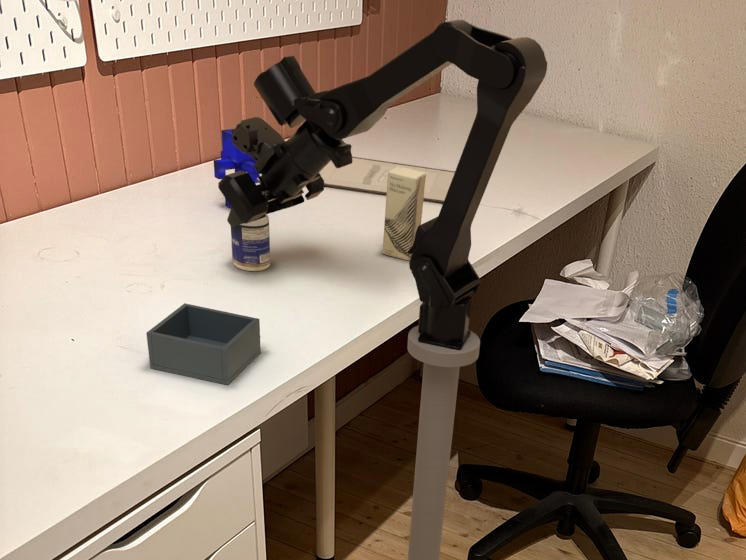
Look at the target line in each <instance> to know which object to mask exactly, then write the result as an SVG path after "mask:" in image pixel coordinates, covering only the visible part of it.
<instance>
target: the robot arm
mask: <svg viewBox="0 0 746 560" xmlns="http://www.w3.org/2000/svg"><path fill="white" fill-rule="evenodd" d="M451 65H454V66H455V67H457V68H458V69H459V70H461V71H462V72H463V73H464V74H466V75H467V76H469V77H471V78H473V79H476V80H477V84H476V86H477V87H476V114H475V118H474V120H473V123H472V125H471V128H470V130H469V133H468V135H467V138H466V141H465V143H464V147H463V150H462V152H461V155H460V157H459V160H458V163H457V164H456V168H455V173H454V176H453V178H452V181H451V184H450V186H449V189H448V192H447V194H446V197H445V200H444V202H442V205H441V207H440V211H439V212H438V216H435V217H434V218H432V219H430V220H428V221H426V222H423V223H421V225H419V226H418V228H417V230H416V234H415V239H414V243H413V245H412V247H411V248H410V249H409V250H408V254H412V255H411V257H410V260H409V263H408V266H409V267H408V268H409V270H410V272H411V274H412V277H413V278H414V281H415V285H416V290H417V294H418V298H419V301H420V302H421V303H420V305H419V311H418V312H419V313H418V325H417V326H418V332H419V333H420V336H419V337H418V342H420V343H425V344H430V345H435V346H440V347H444V348H449V349H454V350H462V348H463V346H464V345H465V343H466V341H467V340H468V338H469V337H470V334H471V332H470V331H471V330H470V331H468V330H469V329H470V319H471V310H472V301H473V297H472V296H471V295H473V294H476V293H477V291H478V290H479V288H480V285H481V282H482V280H481V278H480V276H479V274H478V273H477V271H476V270H475V268H474V267H473V265H472V264H471V262H470V260H469V257H470V253H471V247H472V225H473V222H474V219H475V217H476V214H477V212H478V209H479V207H480V204H481V202H482V199H483V198H484V197H483V196H484V194H485V192H486V189H487V187H488V185H489V182H490V180H491V177H492V174H493V172H494V169H495V167H496V165H497V163H498V160H499V157H500V155H501V152H502V149H503V148H504V145H505V143H506V140H507V138H508V135H509V133H510V131H511V128H512V126H513V124H514V123H515V122H516V120H517V118H518V117H519V116H520V115H521V114H522V112H523V111H524V110H525V109H526V107H527V106H528V105H529V104H530V102H531V101H532V100H533V98H534V96H535V94H536V93H537V92H538V90H539V88H540V87H541V85H542V83H543V81H544V79H545V78H546V75H547V70H548V61H547V58H546V55H545V52H544V50H543V47H542V46H541V44H539V42H537V41H536V40H535V39H534V38H530V37H528V36H524V37H522V36H521V37H517V38H512V37H510V36H508V35H505V34H502V33H499V32H495V31H491V30H488V29H485V28H482V27H481V28H480V27H479V26H476V25H474V24H472V23H470V22H468V21H466V20H464V19H453V20H448V21H444V22H441V23H440V24H438V25H437V26H436V27H435V29H434V30H433V31H432V32H431V33H428V34H427V35H426V36H424V37H422V39H420V40H419V41H417V42H416V43H414V44H413V45H411V46H410V47H408V48H407V49H405V50H404V51H403V52H400V54H399V55H397V56H395V57H393V58H392V59H391V60H390V61H388V62H386V63H385V64H384V65H382V66H381V67H380V68H378V69H376V70H375V71H374V72H372V73H371V74H369V75H368V76H367V75H366V76H365V77H362V78H359V79H356V80H354V81H351V82H348V83H345V84H342V85H340V86H338V87H335V88H332V89H329V90H322V91H318V92H316V91H315V89H314V88H313V86H312V85H311V83H310V82H309V79H307V77H306V75H305V74H304V72H303V70H302V68H301V65H300V64H299V62H298V59H296V57H295V55H288V56H283V57H282V58H281V60H280V61H279V62H276V63H275V64H273V65H271V66H270V67H269V68H267V69H266V70H265V71H261V72H260V73H259V74H258V76H257V77H256V78H255V79H254V82H253V86H254V88H255V90H256V91H257V93H258V94H259V96H260V97H261V99H262V100H263V102H264V104H265V105H266V106H267V108H268V109H269V111H270V113H271V114H272V116H273V117H274V119H275V120H276V122H277V123H278V125H280V127H283V126H284V125H288V127H289V128H290V129H293V128H295V127H297V126H299V125H300V126H299V127H298V128H297V129H296V130H295V131H294V132H293V133H292V134H291V136H290V137H289V138H288V139H287V140H285V139H284V138H283V136H282V134H281V133H279V132H278V131H277V130H276V129H275V128H273V127H272V126H271V125H270V124H269V123H268V122H267V121H266V120H264V119H263V118H261V117H258V116H254V117H253V116H252V117H249V118H246V119H242V120H241V121H240V123H237V124H236V127H234V128H232V129H233V130H232V135H233V136H232V142H233V145H235V146H236V147H237V148H238V149H239V150H240V151H241V152H243V153H244V154H246V153H248V154H249V155H250V156H251V157H252V158H253V159H255V160H257V161H256V162H255V163H254V165H253V166H254V167H255V169H256V170H257V172H258V173H261V174H260V176H259V177H257V181H258V182H259V183H258V184H257V183H255V182H254V181H253V179H252V178H251V176H250V175H249V173H247V172H244V171H238V172H235V171H234V172H231V173H229V174H226V175H225V176H224V178H223V179H220V180H219V182H218V184H217V186H218V190H219V191H220V193H221V194H222V196H223V197H224V199H225V198H226V200H227V201H228V203H229V204H230V206H231V207H232V208H231V209H230V210H229V214H228V216H227V219H226V221H227V223H228V225H229V227H231V226H236V225H240V224H244V223H245V224H247V223H249V222H252V221H256V220H259V219H262V218H264V217H266V215H265V213H266V214H267V215H270V214H273V213H275V212H279V211H282V210H286V209H290V208H293V207H295V206H298V205H301V204H303V203H305V200H306V201H310V200H312V199H315V198H317V197H318V196H319V195H320V194H321V193H322V192H323V191H325V185H324V180H323V178H322V177H321V175H320V173H319V172H320V171H321V170H322V169H323V168H324V167H325V166H326V165H327V164H328V163H329V162H330V161H332V162H333V164H334V165H335V167H336V168H341V167H344V166H347V165H349V164H352V157H353V154H352V145H351V143H347V142H345V141H344V139H347V138H351V137H353V136H356V135H360V134H363V133H366V132H368V131H370V130H372V128H373V127H374V126H375V125H377V123H378V122H379V121H380V120H381V119H382V118H383V117H384V116H385V115H386V113H387V111H388V109H389V108H390V107H391V106H392V105H393V104H394V102H396V101H397V100H399V99H400V98H402V97H403V96H405V95H406V94H408V93H409V92H411V91H412V90H414V89H415V88H417V87H418V86H420V85H421V84H423V83H425V82H426V81H428V80H429V79H431V78H432V77H434V76H435V75H437V74H439V73H440V72H441V71H443V70H445V69H446V68H447V67H449V66H451ZM304 188H306V190H307V192H306V193H305V191H304V190H303V189H304ZM304 193H305V194H304ZM303 194H304V196H303Z"/></svg>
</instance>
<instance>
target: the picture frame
mask: <svg viewBox="0 0 746 560" xmlns="http://www.w3.org/2000/svg"><path fill="white" fill-rule="evenodd" d="M397 166H400V167H404V168H409V169H413V170H417V171H421V172H425V173H426V179H425V188H424V199H423V201H424V200H426V201H432V202H439V203H443V202H444V200H445V197H446V194H447V192H448V189H449V186H450V184H451V181H452V178H453V176H454V173H455V171H453V170H447V169H440V168H433V167H425V166H419V165H412V164H405V163H399V162H392V161H384V160H378V159H371V158H365V157H357V156H352V164H349V165H347V166H344V167H341V168H336V167H335V165H334V164H333V162H332V161H330V162H329V163H328V164H327V165H326V166H325V167H324V168H323V169H322V170H321V171H320V172H319V173H320V175H321V177H322V178H323V180H324V186H329V187H334V188H335V187H336V188H341V189H348V190H355V191H362V192H369V193H375V194H381V195H382V194H383V195H387V183H388V172H389V171H391V170H392V169H394V168H395V167H397Z"/></svg>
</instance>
